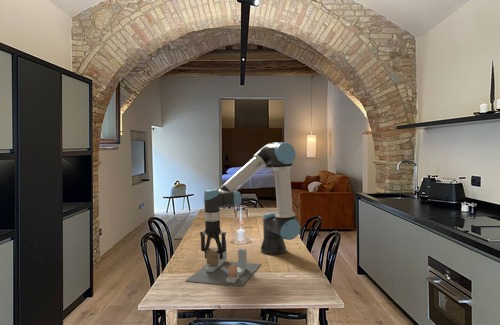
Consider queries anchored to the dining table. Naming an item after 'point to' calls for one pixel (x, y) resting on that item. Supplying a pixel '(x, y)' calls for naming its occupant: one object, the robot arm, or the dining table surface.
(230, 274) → the peach egg shape
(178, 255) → the dining table surface
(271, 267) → the dining table surface
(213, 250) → the block
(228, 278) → the broken strip
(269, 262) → the dining table surface
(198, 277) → the mat
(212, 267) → the grey stepped bracket
